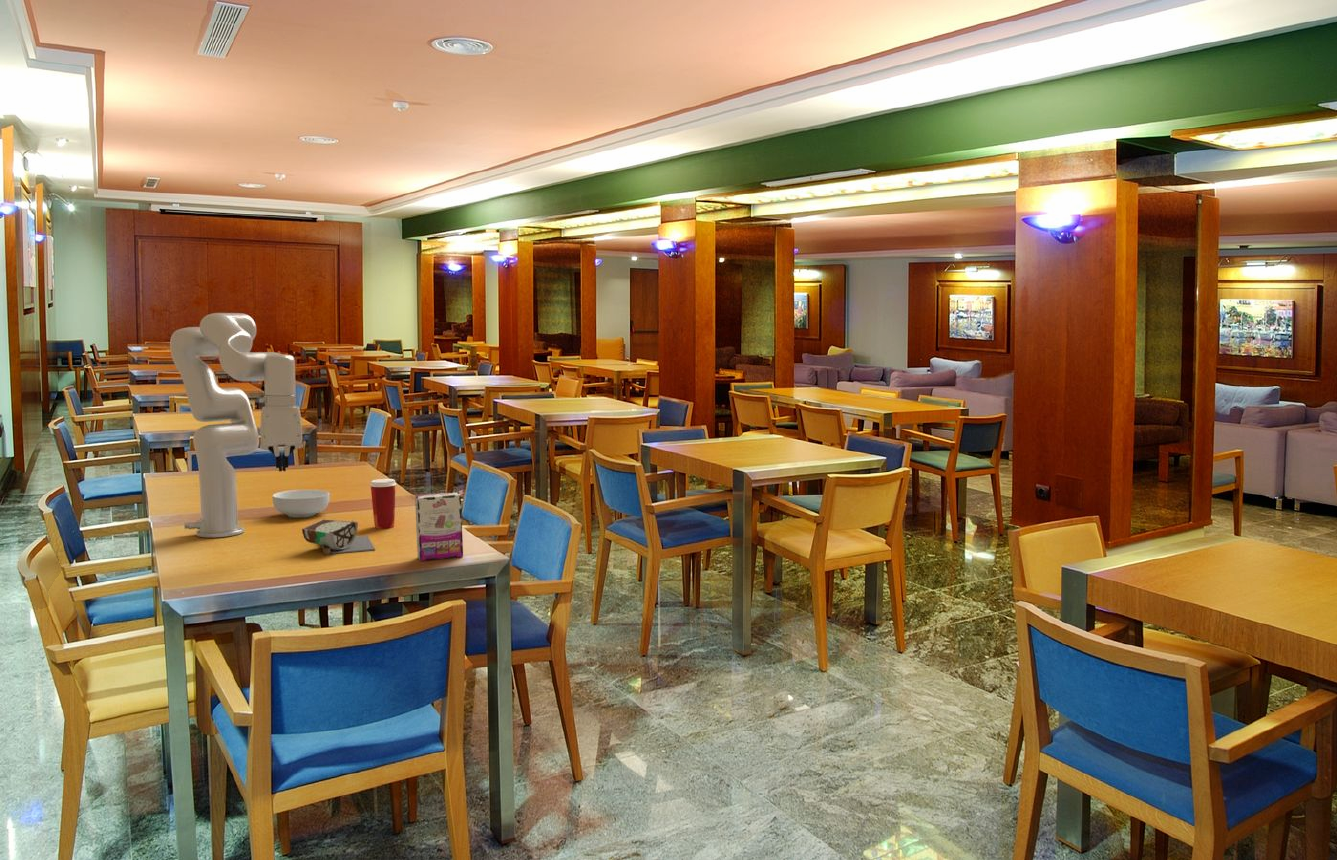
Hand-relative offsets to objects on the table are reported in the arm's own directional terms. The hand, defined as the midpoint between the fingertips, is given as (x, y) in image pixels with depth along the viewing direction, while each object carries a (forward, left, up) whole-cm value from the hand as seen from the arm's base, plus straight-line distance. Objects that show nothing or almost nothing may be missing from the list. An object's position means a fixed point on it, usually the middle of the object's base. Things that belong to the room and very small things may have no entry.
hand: (282, 470), depth 258 cm
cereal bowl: (+6, +50, -22) cm, 55 cm away
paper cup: (+28, +21, -22) cm, 41 cm away
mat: (+16, -1, -22) cm, 27 cm away
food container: (+7, -1, -18) cm, 19 cm away
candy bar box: (+36, -25, -22) cm, 49 cm away
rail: (+10, -1, -22) cm, 24 cm away
